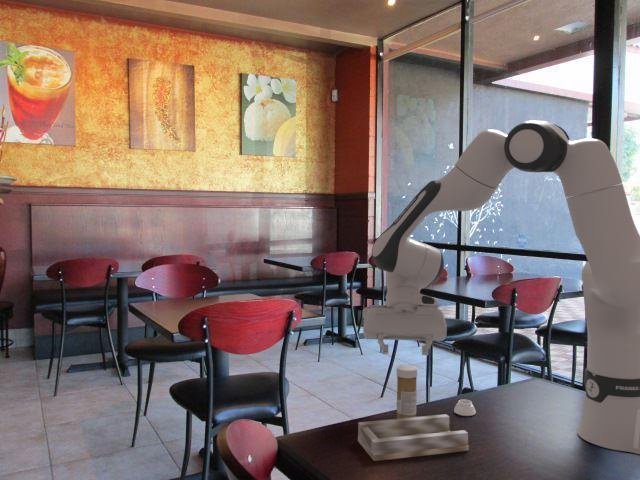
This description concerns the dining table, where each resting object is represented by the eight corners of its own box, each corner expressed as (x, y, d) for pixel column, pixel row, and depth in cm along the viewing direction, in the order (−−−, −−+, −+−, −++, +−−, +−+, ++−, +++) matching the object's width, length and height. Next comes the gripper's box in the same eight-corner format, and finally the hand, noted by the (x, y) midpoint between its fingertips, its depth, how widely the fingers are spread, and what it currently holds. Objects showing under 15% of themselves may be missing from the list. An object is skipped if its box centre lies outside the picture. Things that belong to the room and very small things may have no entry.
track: (445, 431, 122) (445, 413, 122) (468, 450, 112) (468, 430, 112) (357, 440, 117) (357, 422, 117) (374, 461, 107) (374, 440, 107)
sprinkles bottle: (396, 422, 128) (397, 363, 127) (417, 423, 127) (417, 364, 126) (395, 429, 123) (395, 369, 123) (416, 431, 122) (417, 370, 122)
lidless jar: (471, 418, 130) (478, 412, 134) (471, 406, 130) (478, 400, 134) (450, 414, 133) (458, 408, 137) (450, 402, 133) (458, 396, 137)
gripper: (362, 297, 141) (361, 345, 132) (445, 299, 139) (449, 347, 130) (362, 312, 146) (361, 359, 136) (442, 314, 144) (447, 361, 134)
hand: (405, 353), depth 133 cm, fingers open, 8 cm apart
